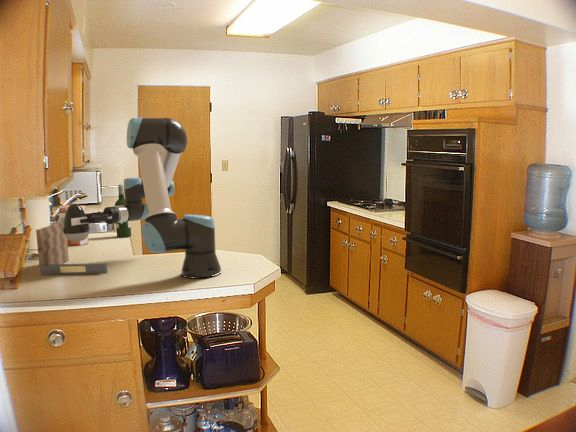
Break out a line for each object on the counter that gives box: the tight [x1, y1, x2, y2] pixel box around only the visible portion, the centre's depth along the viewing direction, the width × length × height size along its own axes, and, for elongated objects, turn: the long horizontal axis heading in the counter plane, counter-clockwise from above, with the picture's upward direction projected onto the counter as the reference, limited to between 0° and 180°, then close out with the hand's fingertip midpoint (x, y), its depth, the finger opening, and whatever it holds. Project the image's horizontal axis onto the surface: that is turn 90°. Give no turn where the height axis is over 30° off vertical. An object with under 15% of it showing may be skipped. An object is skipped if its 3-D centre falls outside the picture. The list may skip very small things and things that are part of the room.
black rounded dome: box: [63, 203, 91, 241], centre depth 208 cm, size 10×10×15 cm
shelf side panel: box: [35, 222, 70, 275], centre depth 216 cm, size 24×2×18 cm, turn 0°
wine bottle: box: [114, 184, 132, 239], centre depth 289 cm, size 8×8×30 cm
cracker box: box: [58, 204, 89, 247], centre depth 270 cm, size 14×6×21 cm, turn 62°
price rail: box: [39, 262, 109, 276], centre depth 202 cm, size 2×26×4 cm, turn 91°
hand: (65, 221), depth 205 cm, fingers closed on black rounded dome, 9 cm apart
